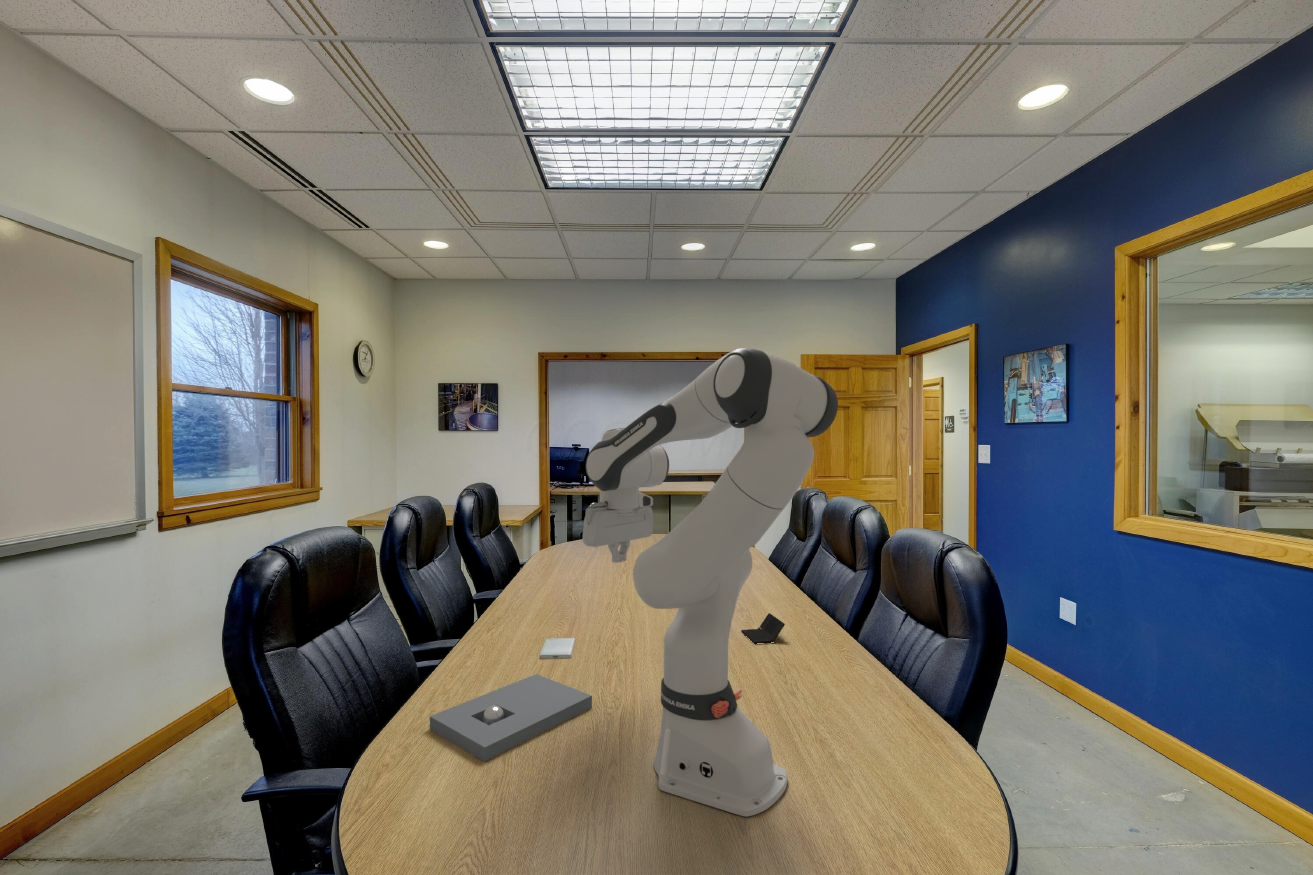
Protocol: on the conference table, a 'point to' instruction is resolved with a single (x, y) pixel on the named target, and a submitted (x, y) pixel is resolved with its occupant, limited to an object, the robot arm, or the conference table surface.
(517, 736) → the board
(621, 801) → the conference table surface
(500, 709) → the steel ball
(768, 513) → the robot arm
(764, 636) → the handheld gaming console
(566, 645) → the hard drive
